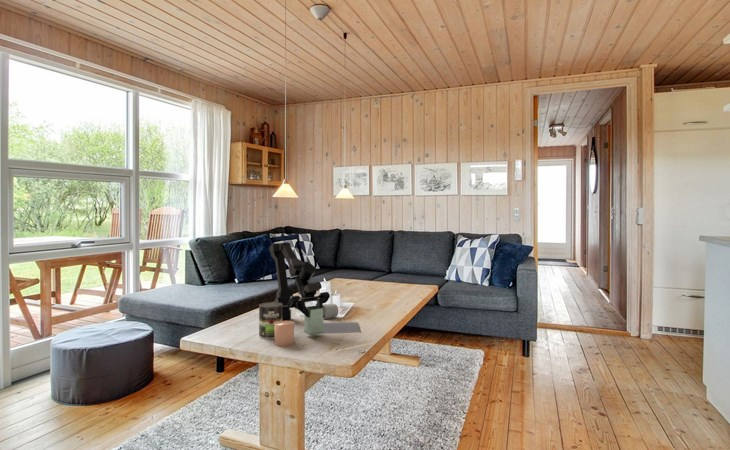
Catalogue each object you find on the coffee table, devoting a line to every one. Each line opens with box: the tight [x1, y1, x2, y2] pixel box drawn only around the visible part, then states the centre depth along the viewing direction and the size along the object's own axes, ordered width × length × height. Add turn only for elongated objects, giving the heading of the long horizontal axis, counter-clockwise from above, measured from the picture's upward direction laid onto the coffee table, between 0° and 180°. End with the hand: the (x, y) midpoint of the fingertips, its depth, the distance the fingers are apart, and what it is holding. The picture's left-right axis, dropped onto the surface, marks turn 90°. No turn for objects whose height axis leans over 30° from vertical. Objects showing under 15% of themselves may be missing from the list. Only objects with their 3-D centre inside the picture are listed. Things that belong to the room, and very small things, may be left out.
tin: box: [304, 304, 324, 336], centre depth 178 cm, size 6×6×11 cm
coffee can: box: [258, 301, 283, 339], centre depth 180 cm, size 10×10×14 cm
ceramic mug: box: [322, 303, 339, 321], centre depth 210 cm, size 11×8×8 cm
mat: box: [322, 321, 361, 334], centre depth 191 cm, size 18×16×1 cm
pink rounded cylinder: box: [274, 320, 295, 348], centre depth 169 cm, size 8×8×9 cm
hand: (315, 316), depth 177 cm, fingers closed on tin, 6 cm apart
